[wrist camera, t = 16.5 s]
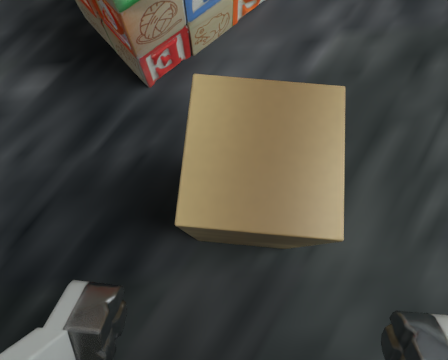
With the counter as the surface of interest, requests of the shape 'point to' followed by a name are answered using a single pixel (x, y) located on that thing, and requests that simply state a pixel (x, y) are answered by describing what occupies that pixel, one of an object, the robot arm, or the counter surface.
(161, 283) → the counter surface
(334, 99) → the birch block
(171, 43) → the stack of blocks
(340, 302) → the counter surface
